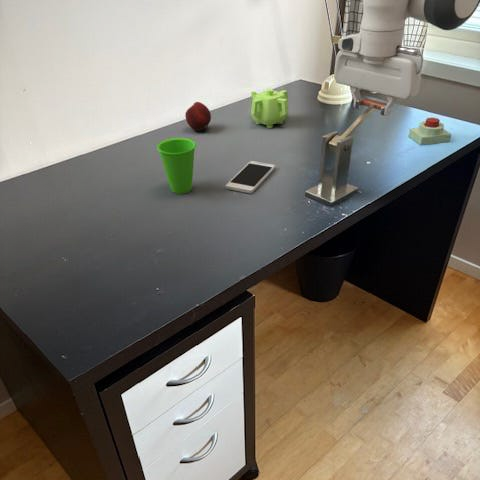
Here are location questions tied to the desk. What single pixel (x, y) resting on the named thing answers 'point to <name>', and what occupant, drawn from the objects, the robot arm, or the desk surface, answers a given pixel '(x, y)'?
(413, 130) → the control block
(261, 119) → the green pot with handles
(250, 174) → the smartphone
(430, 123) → the button
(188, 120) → the apple
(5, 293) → the desk surface
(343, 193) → the bracket
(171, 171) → the cup
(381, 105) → the lever
